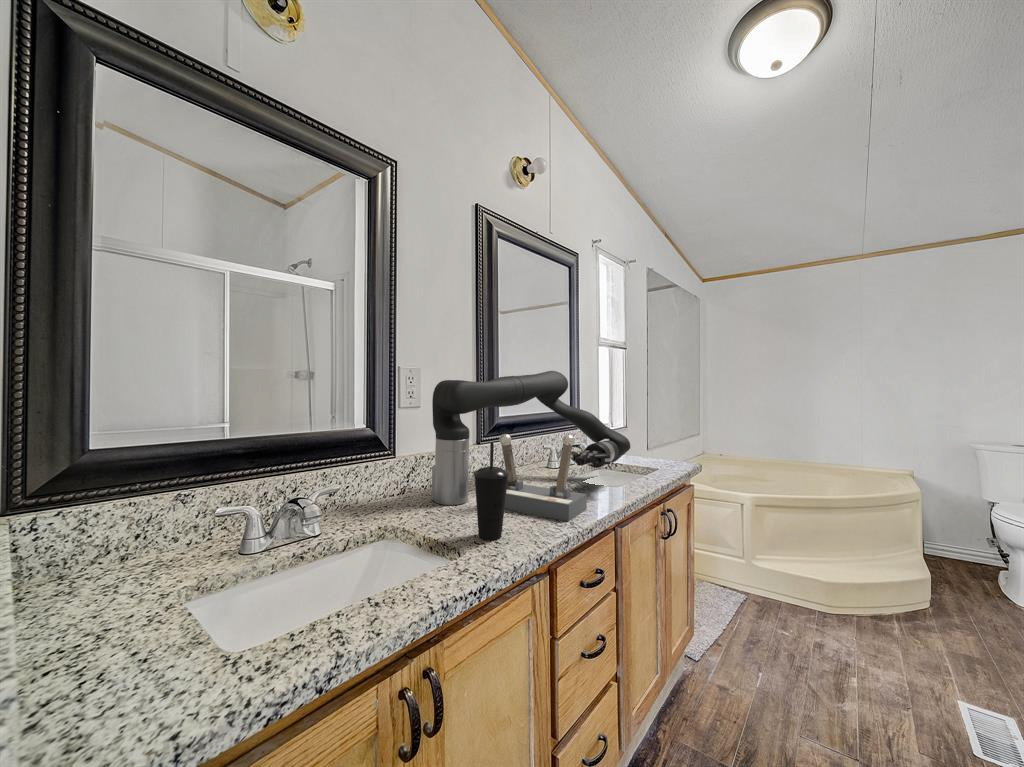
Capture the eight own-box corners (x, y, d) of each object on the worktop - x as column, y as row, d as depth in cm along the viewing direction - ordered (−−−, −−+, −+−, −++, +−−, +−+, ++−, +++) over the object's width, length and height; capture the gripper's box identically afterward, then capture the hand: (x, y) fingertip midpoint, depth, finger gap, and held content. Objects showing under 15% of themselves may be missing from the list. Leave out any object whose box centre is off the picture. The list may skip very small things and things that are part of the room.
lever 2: (552, 490, 109) (561, 432, 114) (556, 492, 112) (566, 436, 117) (563, 492, 108) (572, 433, 112) (568, 494, 110) (577, 437, 115)
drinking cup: (464, 536, 91) (466, 442, 91) (490, 528, 96) (492, 439, 96) (489, 546, 86) (491, 446, 86) (515, 536, 91) (517, 443, 91)
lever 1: (505, 487, 117) (496, 436, 112) (510, 480, 119) (502, 431, 115) (515, 488, 115) (506, 437, 110) (521, 482, 118) (512, 432, 113)
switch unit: (485, 505, 114) (485, 481, 114) (508, 495, 125) (508, 474, 125) (568, 521, 102) (569, 495, 102) (586, 509, 113) (587, 485, 113)
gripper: (580, 440, 140) (558, 446, 125) (620, 444, 133) (602, 450, 118) (579, 463, 140) (557, 472, 125) (619, 468, 133) (601, 478, 118)
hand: (579, 461), depth 121 cm, fingers closed
